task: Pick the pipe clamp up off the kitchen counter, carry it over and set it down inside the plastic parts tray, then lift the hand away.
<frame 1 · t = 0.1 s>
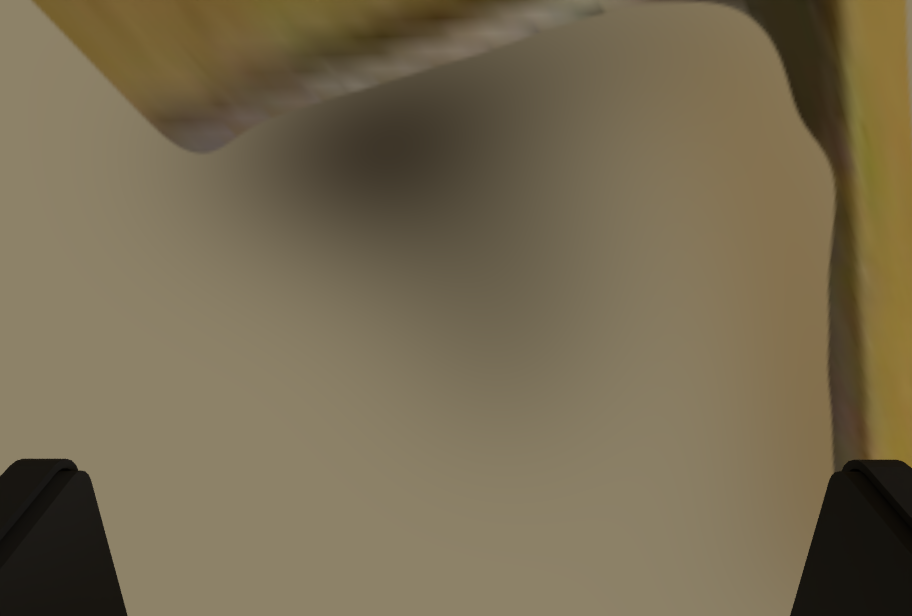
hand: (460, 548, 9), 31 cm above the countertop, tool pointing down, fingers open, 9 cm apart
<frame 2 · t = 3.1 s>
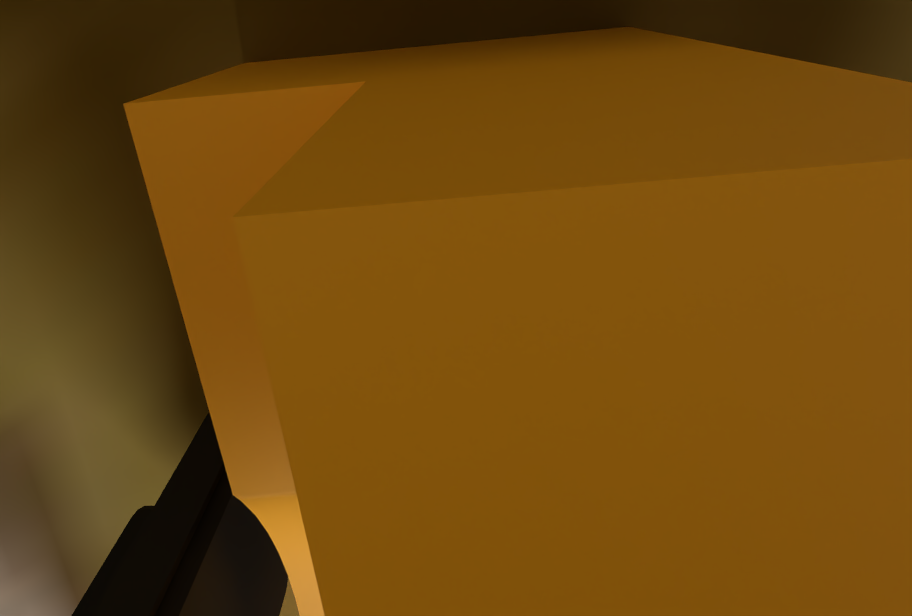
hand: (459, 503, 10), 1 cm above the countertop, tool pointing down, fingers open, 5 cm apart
pipe clamp: (475, 463, 10), on the countertop
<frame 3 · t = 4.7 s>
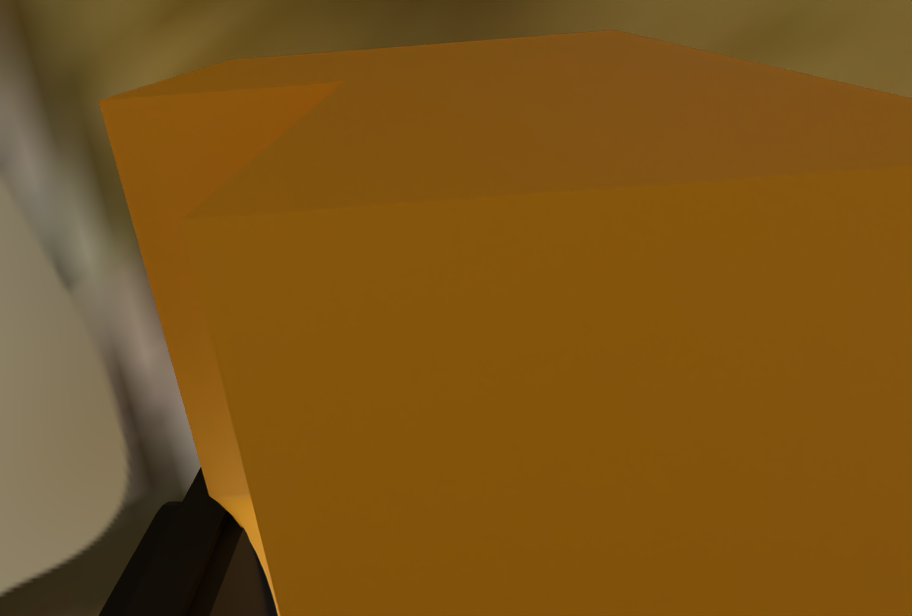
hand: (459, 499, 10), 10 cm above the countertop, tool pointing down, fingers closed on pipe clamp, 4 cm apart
pipe clamp: (458, 464, 10), point 9 cm above the countertop, touching gripper
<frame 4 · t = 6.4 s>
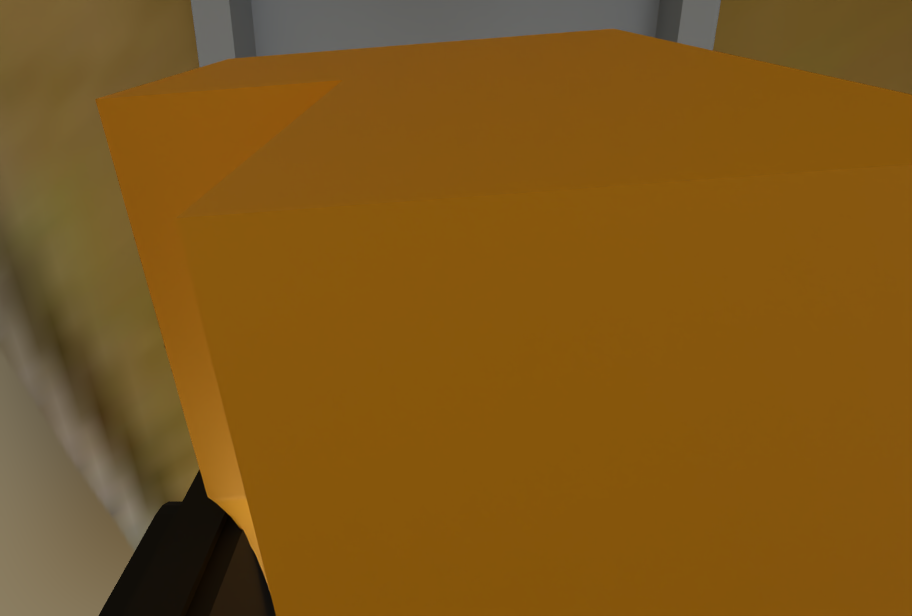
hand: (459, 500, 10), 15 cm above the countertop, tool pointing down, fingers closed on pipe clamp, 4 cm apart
parts tray: (452, 190, 23), on the countertop
pipe clamp: (458, 465, 10), point 14 cm above the countertop, touching gripper
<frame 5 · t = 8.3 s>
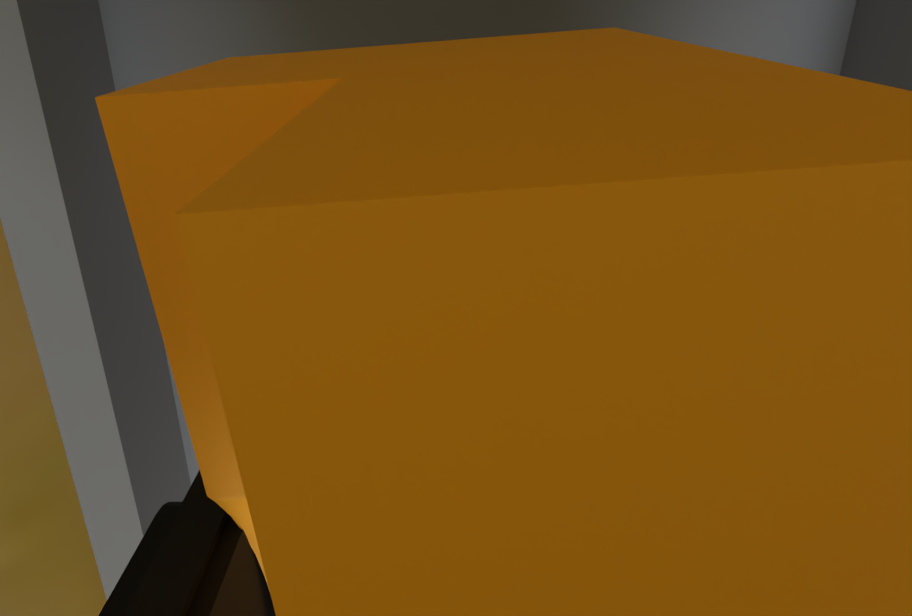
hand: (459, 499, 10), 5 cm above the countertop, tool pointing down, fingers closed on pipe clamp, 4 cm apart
parts tray: (469, 342, 14), on the countertop
pipe clamp: (458, 465, 10), point 4 cm above the countertop, touching gripper
when the fingers open (3 cm above the countertop, at t = 9.5 s): pipe clamp drops 1 cm, resting on parts tray.
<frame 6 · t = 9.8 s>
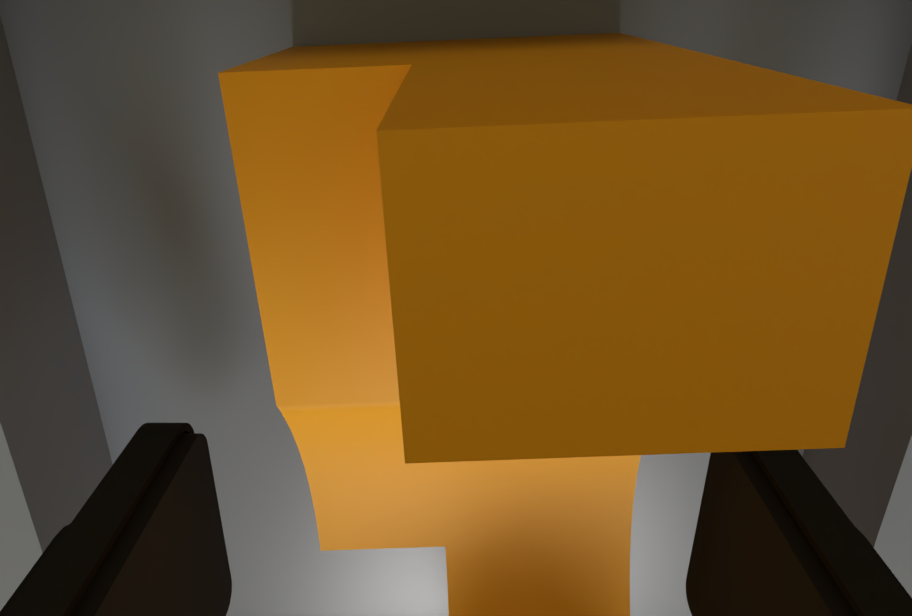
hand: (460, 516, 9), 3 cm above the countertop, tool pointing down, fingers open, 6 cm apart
parts tray: (457, 392, 12), on the countertop
pipe clamp: (469, 413, 12), point 1 cm above the countertop, touching parts tray
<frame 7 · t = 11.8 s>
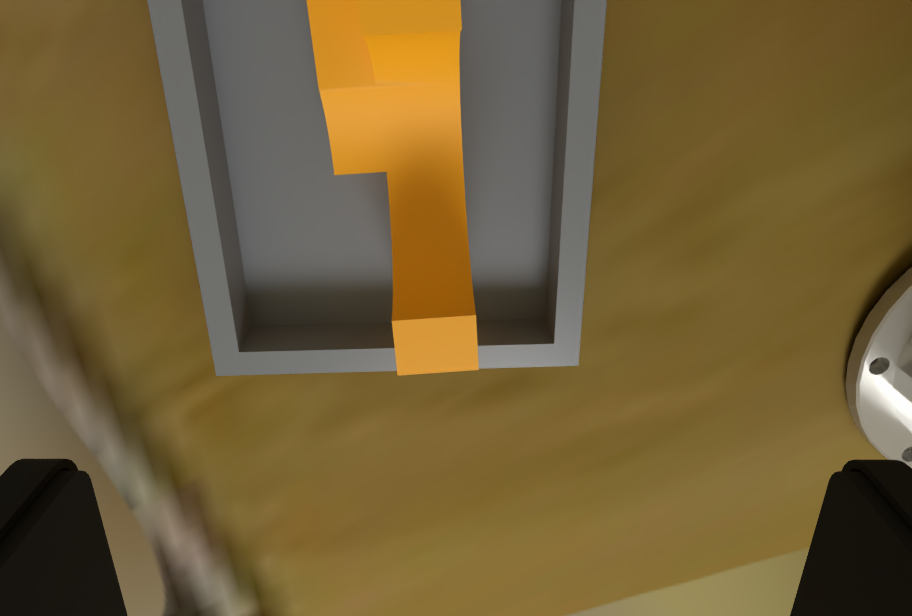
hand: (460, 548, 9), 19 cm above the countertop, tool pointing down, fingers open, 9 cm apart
parts tray: (391, 133, 26), on the countertop
pipe clamp: (400, 140, 25), point 1 cm above the countertop, touching parts tray
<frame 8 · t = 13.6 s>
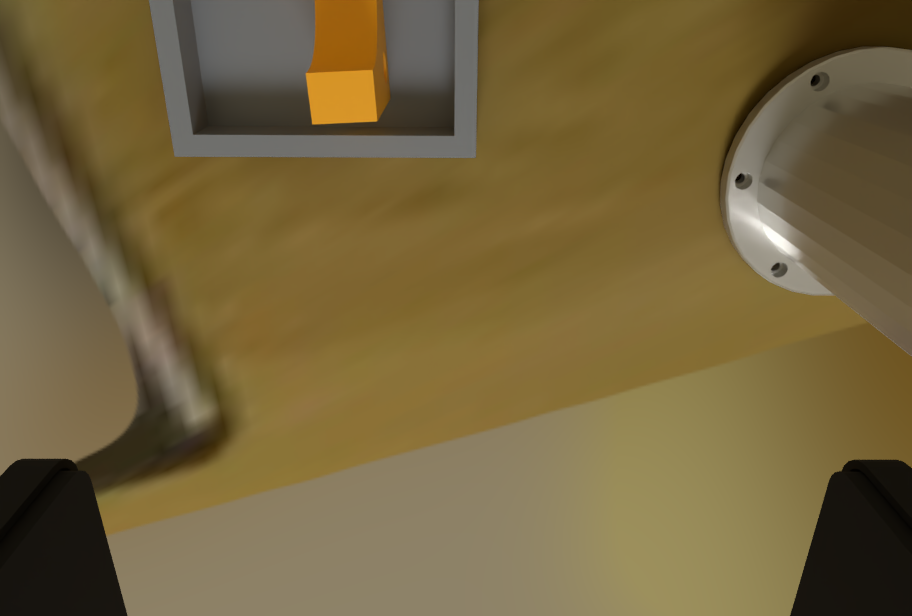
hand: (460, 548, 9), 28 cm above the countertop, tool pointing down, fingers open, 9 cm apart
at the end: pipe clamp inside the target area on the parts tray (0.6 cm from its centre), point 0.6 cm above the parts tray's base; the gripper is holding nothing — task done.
